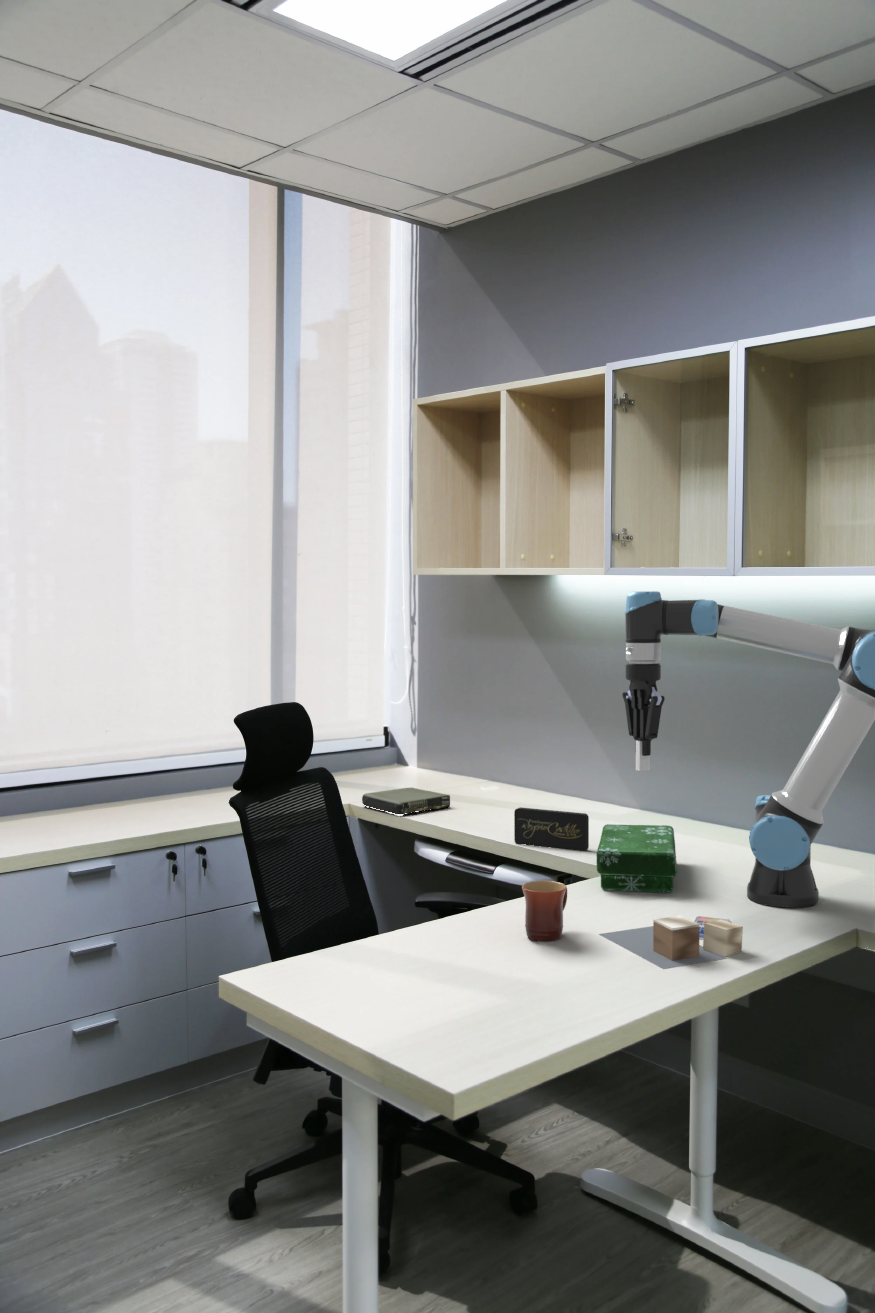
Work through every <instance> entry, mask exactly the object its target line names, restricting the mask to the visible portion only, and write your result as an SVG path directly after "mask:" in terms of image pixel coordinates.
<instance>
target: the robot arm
mask: <svg viewBox="0 0 875 1313" xmlns="http://www.w3.org/2000/svg"><path fill="white" fill-rule="evenodd" d="M625 603H626V604H625V611H624V614H625V660H626V661H628V662H627V663H626V664H625V679H626V680H627V681H630V683H629V685H628V691H624V692H622V696H621V697H622V699H623V702H624V706H625V714H626V721H627V728H628V735H629V736H630V737H633V740H634V743H635V744H634V745H635V746H634V747H635V748H634V749H635V750H634V752H635V753H634V754H635V771H638V772H642V771H650V770H651V754H652V753H651V750H652V748H651V746H652V745H651V744H652V743H651V742H652V740H654V739H657V738H658V734H659V730H660V729H659V728H660V722H661V714H662V706H663V705H664V702H665V699H666V698H665V695H661V694H659V692H658V687H657V682H658V681H660V680H661V675H662V673H661V672H662V670H661V669H662V667H661V664H660V663H659V662H660V661H661V660H662V641H661V640H662V639H661V637H662V636H663V635H664V636H668V635H669V636H700V637H701V636H704V637H709V638H712V639H713V638H715V639H719V640H723V641H727V642H728V641H729V642H731V643H737V644H742V645H744V646H745V645H747V646H749V647H750V646H751V647H755V648H760V649H762V650H763V649H764V650H768V651H773V652H777V653H781V654H787V655H791V656H796V657H798V658H799V657H800V658H805V659H808V660H812V661H818V662H821V663H827V664H831V665H833V666H834V668H835V669H836V670H837V671H840V674H839V676H838V678H837V681H838V682H837V683H838V685H839V691H838V693H837V695H836V697H835V699H834V700H833V702H832V703H831V706H830V707H829V709H828V711H827V712H826V714H825V716H824V718H823V719H822V721H821V723H820V724H819V726H818V728H817V729H816V732H815V733H814V735H813V737H812V739H811V741H810V742H809V743H808V746H807V747H806V749H805V751H804V752H803V754H802V756H801V758H800V759H799V761H798V763H797V765H796V766H795V768H794V770H793V772H792V773H791V775H790V777H789V779H788V780H787V782H786V783H785V786H784V787H783V789H781V790H778V791H773V792H772V793H771V794H768V795H767V794H762V795H758V796H757V797H756V799H755V805H754V809H755V821H754V823H753V825H752V827H751V829H750V831H749V834H748V836H749V837H748V840H749V845H750V846H749V847H750V849H751V852H752V854H753V856H754V858H755V861H754V866H753V869H752V872H751V875H750V878H749V882H748V884H747V886H746V897H747V898H748V899H749V900H750V901H753V902H754V903H757V904H760V905H764V906H769V907H776V908H793V909H794V908H807V907H812V906H815V905H818V903H819V894H820V892H819V889H818V886H817V884H816V879H815V876H814V873H813V870H812V866H811V857H812V856H811V855H812V854H811V850H812V849H811V847H812V846H811V845H812V844H813V842H814V840H815V838H816V837H817V835H818V833H819V832H820V830H821V828H822V826H823V825H824V823H825V821H824V817H823V816H824V815H823V813H822V812H823V809H824V808H825V806H826V805H827V803H828V800H829V799H830V797H831V796H832V794H833V792H834V790H835V789H836V787H837V785H838V784H839V782H840V780H841V779H842V777H843V775H844V773H845V772H846V770H847V768H848V766H849V765H850V763H851V761H852V760H853V758H854V756H855V754H856V752H858V750H859V749H860V746H861V744H862V742H863V741H864V739H865V738H866V736H867V735H868V732H869V730H870V729H871V727H872V725H873V724H874V722H875V629H867V628H866V629H865V628H860V627H859V628H858V627H853V626H849V625H847V626H845V627H843V628H842V629H840V628H835V627H830V626H825V625H820V624H815V623H809V622H806V621H800V620H796V619H792V618H786V617H782V616H781V617H780V616H777V615H772V614H766V613H763V612H757V611H753V610H747V609H743V608H738V607H733V606H729V605H722V604H718V603H717V601H715V600H713V599H712V600H711V599H702V598H701V599H683V600H681V599H680V600H679V599H678V600H676V599H675V600H668V599H667V600H666V599H663V598H662V595H661V592H660V591H654V590H653V591H652V590H651V591H630V592H629V593H628V594H626V602H625Z"/></svg>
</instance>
